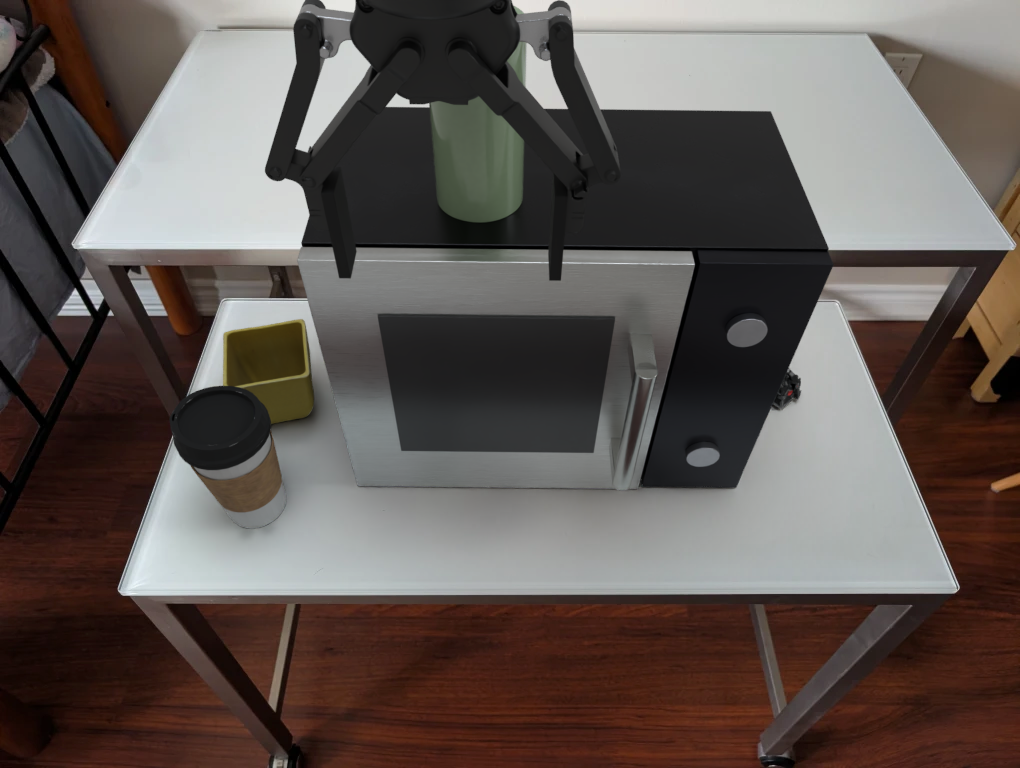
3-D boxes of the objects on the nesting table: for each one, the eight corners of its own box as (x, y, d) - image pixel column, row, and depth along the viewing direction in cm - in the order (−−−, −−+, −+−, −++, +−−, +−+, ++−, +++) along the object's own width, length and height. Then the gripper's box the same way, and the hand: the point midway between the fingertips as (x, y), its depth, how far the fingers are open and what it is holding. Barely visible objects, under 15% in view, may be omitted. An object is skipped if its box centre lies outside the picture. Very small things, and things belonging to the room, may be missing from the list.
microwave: (737, 495, 78) (838, 269, 55) (356, 491, 78) (294, 263, 55) (702, 341, 93) (771, 110, 69) (382, 338, 93) (341, 106, 69)
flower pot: (245, 442, 82) (221, 390, 76) (244, 384, 88) (222, 330, 81) (325, 428, 84) (309, 375, 77) (319, 371, 89) (304, 317, 82)
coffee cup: (221, 473, 80) (175, 381, 68) (301, 466, 80) (269, 374, 69) (209, 543, 74) (157, 457, 63) (296, 535, 75) (259, 448, 64)
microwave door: (643, 530, 75) (706, 310, 52) (350, 527, 75) (282, 306, 52) (636, 476, 80) (692, 250, 56) (359, 473, 80) (300, 246, 56)
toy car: (779, 336, 94) (789, 312, 91) (806, 411, 86) (817, 388, 83) (731, 336, 94) (739, 313, 90) (754, 411, 86) (763, 388, 83)
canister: (525, 222, 58) (530, 43, 48) (435, 223, 58) (420, 44, 47) (521, 170, 63) (525, -3, 52) (437, 172, 63) (424, -2, 52)
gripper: (695, -127, 35) (634, 232, 52) (170, -133, 35) (273, 228, 52) (724, -68, 31) (646, 307, 47) (115, -76, 31) (248, 303, 47)
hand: (451, 266), depth 49 cm, fingers open, 13 cm apart
